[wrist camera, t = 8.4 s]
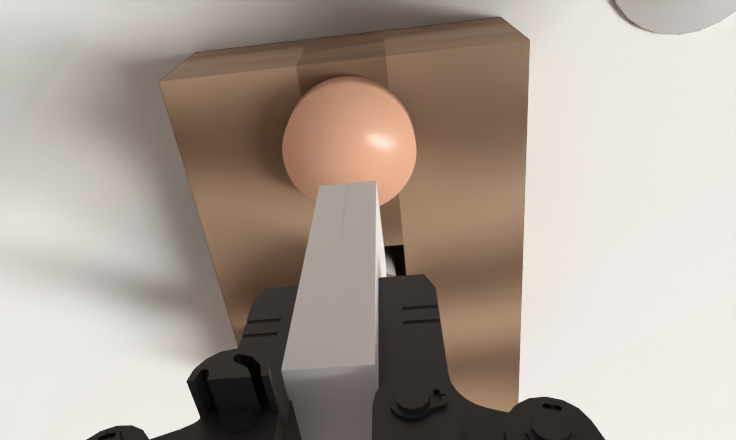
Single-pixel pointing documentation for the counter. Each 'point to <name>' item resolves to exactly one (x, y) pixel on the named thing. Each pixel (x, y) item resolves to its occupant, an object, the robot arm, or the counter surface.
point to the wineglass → (676, 14)
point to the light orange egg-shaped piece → (349, 138)
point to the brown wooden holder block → (403, 212)
